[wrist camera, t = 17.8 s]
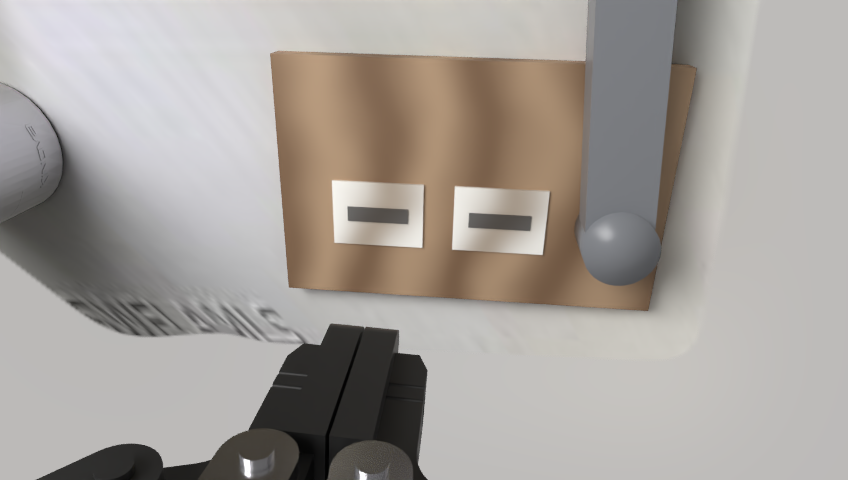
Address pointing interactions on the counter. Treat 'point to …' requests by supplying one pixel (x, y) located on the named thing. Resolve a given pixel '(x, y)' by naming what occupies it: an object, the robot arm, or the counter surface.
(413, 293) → the label board
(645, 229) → the swing arm
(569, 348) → the counter surface
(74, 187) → the counter surface
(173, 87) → the counter surface
